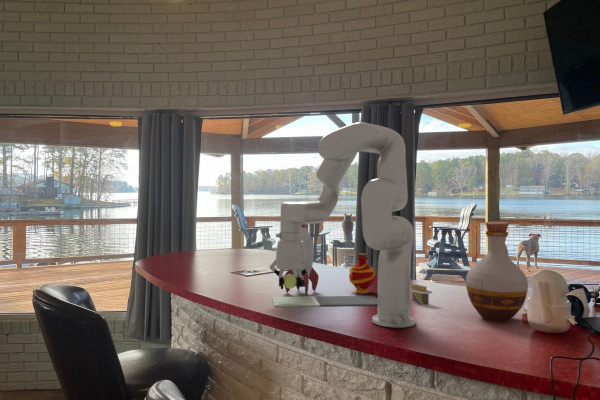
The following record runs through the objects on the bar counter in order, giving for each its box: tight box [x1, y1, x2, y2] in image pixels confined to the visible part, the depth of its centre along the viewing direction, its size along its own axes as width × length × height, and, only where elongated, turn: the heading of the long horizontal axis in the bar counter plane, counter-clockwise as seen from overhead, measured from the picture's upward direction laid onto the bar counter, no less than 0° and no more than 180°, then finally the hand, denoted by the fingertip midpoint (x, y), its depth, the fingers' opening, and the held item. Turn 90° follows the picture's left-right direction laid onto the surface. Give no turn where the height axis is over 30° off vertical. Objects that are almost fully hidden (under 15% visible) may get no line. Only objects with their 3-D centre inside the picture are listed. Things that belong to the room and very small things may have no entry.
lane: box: [271, 295, 378, 308], centre depth 171 cm, size 14×38×1 cm, turn 96°
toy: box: [283, 224, 319, 297], centre depth 187 cm, size 11×11×30 cm
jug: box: [465, 221, 529, 323], centre depth 150 cm, size 20×18×30 cm
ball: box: [283, 274, 297, 290], centre depth 170 cm, size 5×5×5 cm
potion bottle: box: [348, 252, 376, 294], centre depth 190 cm, size 10×10×15 cm
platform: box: [410, 283, 433, 305], centre depth 171 cm, size 12×18×7 cm, turn 30°
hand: (289, 287), depth 170 cm, fingers closed on ball, 5 cm apart
